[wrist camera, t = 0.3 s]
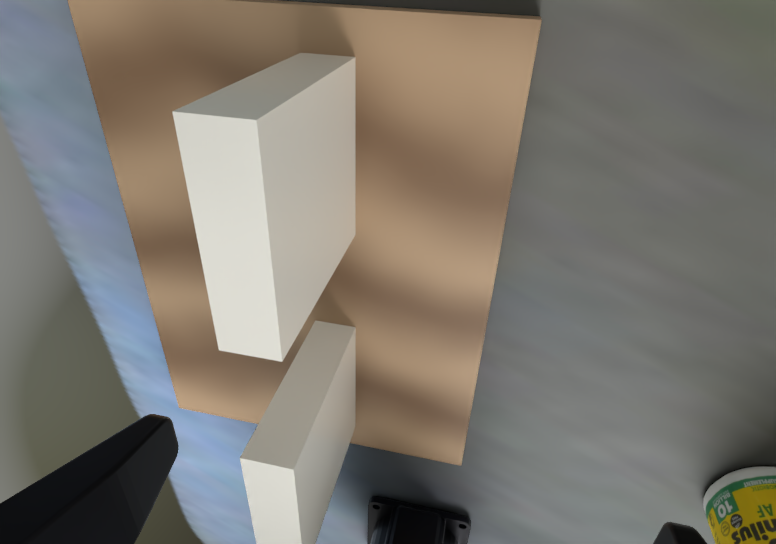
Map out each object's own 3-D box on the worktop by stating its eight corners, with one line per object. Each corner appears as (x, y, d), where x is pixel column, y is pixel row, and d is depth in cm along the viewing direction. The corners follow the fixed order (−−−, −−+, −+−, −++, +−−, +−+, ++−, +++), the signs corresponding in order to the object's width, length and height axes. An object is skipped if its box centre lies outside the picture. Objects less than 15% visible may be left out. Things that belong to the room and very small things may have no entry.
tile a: (355, 426, 28) (304, 574, 21) (318, 418, 28) (257, 562, 21) (355, 327, 24) (293, 469, 17) (312, 320, 24) (235, 457, 18)
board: (462, 450, 28) (461, 465, 28) (188, 395, 31) (179, 407, 30) (540, 16, 16) (541, 19, 16) (84, -12, 19) (64, -10, 18)
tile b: (355, 234, 21) (282, 361, 15) (307, 228, 22) (214, 349, 15) (355, 57, 17) (256, 120, 11) (296, 52, 18) (165, 111, 11)
